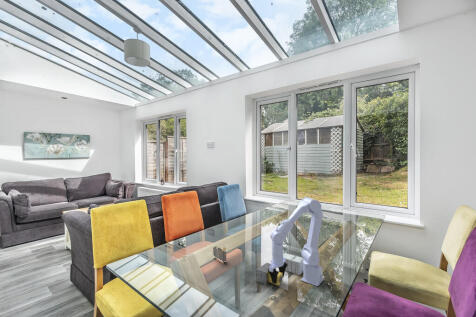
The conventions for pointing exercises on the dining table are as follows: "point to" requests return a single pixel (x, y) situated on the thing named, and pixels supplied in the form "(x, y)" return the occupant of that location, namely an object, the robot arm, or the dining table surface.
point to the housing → (263, 274)
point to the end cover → (279, 279)
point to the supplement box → (294, 263)
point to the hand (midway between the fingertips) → (278, 280)
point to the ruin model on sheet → (219, 253)
